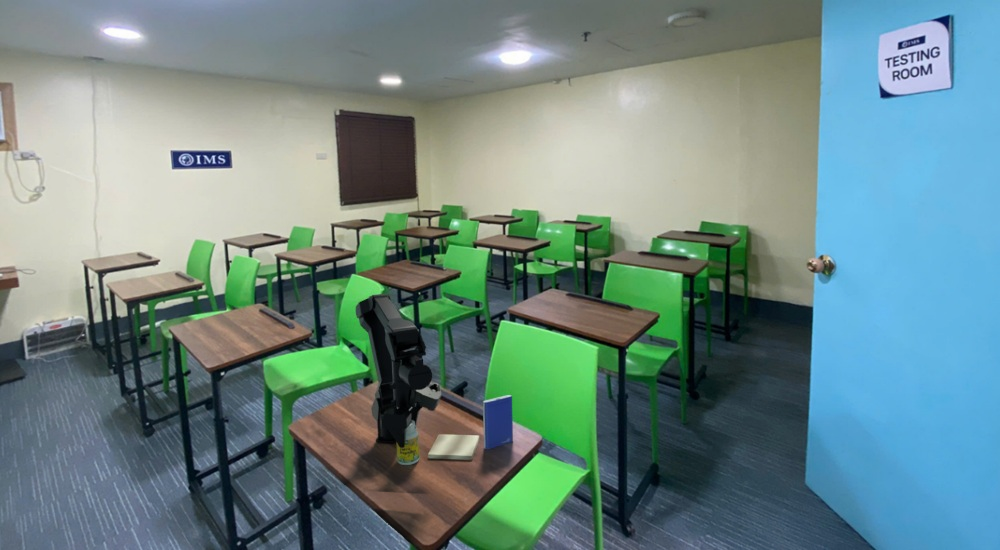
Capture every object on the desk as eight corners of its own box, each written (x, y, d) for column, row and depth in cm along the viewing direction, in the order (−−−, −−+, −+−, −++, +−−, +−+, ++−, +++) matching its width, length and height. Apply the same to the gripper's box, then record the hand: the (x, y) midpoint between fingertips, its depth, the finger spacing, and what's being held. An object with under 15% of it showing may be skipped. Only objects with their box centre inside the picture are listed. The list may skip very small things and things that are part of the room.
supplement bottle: (418, 453, 118) (417, 417, 117) (420, 464, 113) (418, 425, 112) (397, 456, 117) (395, 419, 116) (397, 467, 112) (395, 428, 111)
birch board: (428, 460, 116) (427, 454, 116) (439, 439, 127) (438, 434, 127) (472, 462, 115) (471, 455, 114) (479, 441, 126) (479, 435, 125)
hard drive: (513, 441, 124) (512, 396, 122) (486, 450, 120) (485, 403, 118) (510, 439, 125) (509, 394, 124) (483, 447, 121) (482, 401, 120)
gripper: (426, 392, 103) (429, 460, 104) (446, 366, 121) (448, 424, 123) (377, 391, 104) (381, 458, 106) (405, 365, 122) (407, 423, 124)
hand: (407, 439), depth 115 cm, fingers open, 8 cm apart
